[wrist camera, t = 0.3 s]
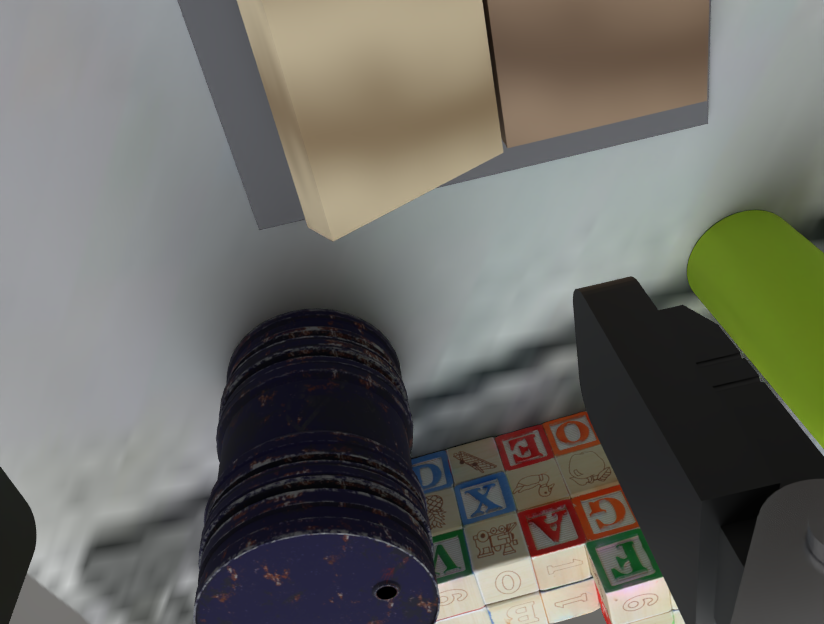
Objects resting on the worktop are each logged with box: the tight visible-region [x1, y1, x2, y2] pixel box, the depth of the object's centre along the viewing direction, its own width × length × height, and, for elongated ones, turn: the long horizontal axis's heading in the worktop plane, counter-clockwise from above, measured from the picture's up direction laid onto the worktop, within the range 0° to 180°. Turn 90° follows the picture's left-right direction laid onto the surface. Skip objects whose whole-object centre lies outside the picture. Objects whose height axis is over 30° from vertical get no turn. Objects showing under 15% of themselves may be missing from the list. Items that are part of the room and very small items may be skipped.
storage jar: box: [193, 309, 440, 624], centre depth 36 cm, size 10×10×15 cm
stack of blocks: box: [411, 411, 685, 624], centre depth 42 cm, size 21×6×12 cm, turn 104°
